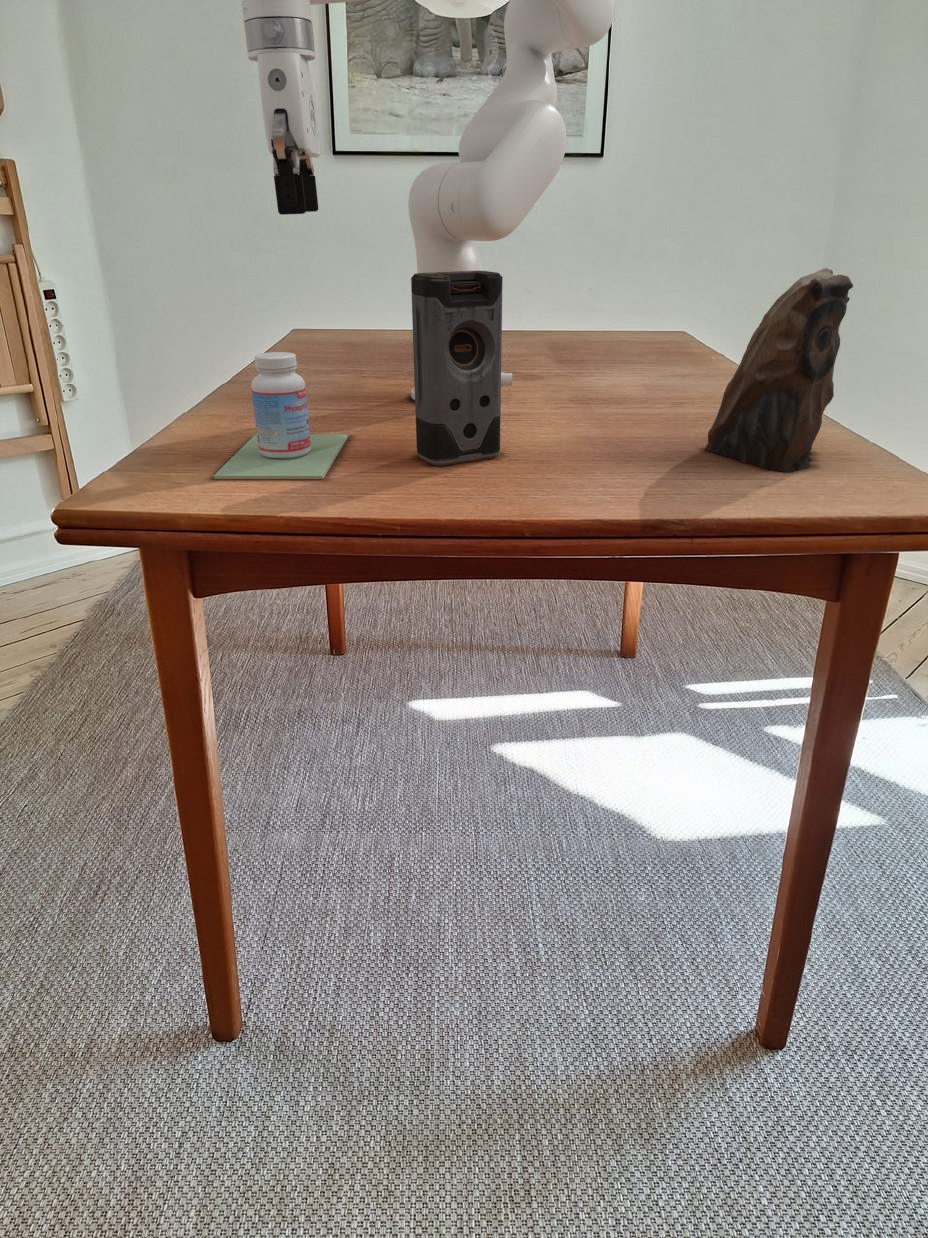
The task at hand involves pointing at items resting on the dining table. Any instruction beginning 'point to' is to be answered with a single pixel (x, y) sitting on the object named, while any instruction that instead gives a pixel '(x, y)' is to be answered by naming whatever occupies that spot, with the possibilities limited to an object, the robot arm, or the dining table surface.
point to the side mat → (284, 461)
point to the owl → (784, 378)
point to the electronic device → (457, 365)
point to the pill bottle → (280, 407)
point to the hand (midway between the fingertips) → (299, 212)
